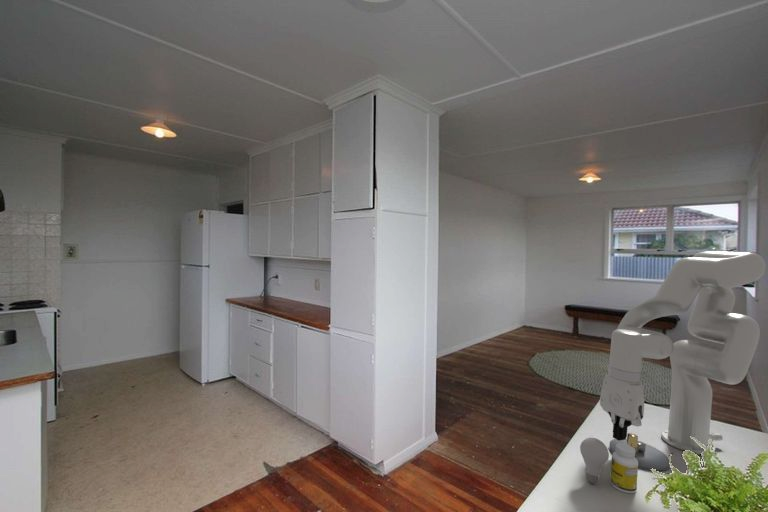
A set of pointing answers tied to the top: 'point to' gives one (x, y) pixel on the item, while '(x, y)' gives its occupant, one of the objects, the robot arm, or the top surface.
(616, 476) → the supplement bottle
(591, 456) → the lightbulb
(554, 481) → the top surface
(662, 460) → the dial plate
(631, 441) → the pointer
